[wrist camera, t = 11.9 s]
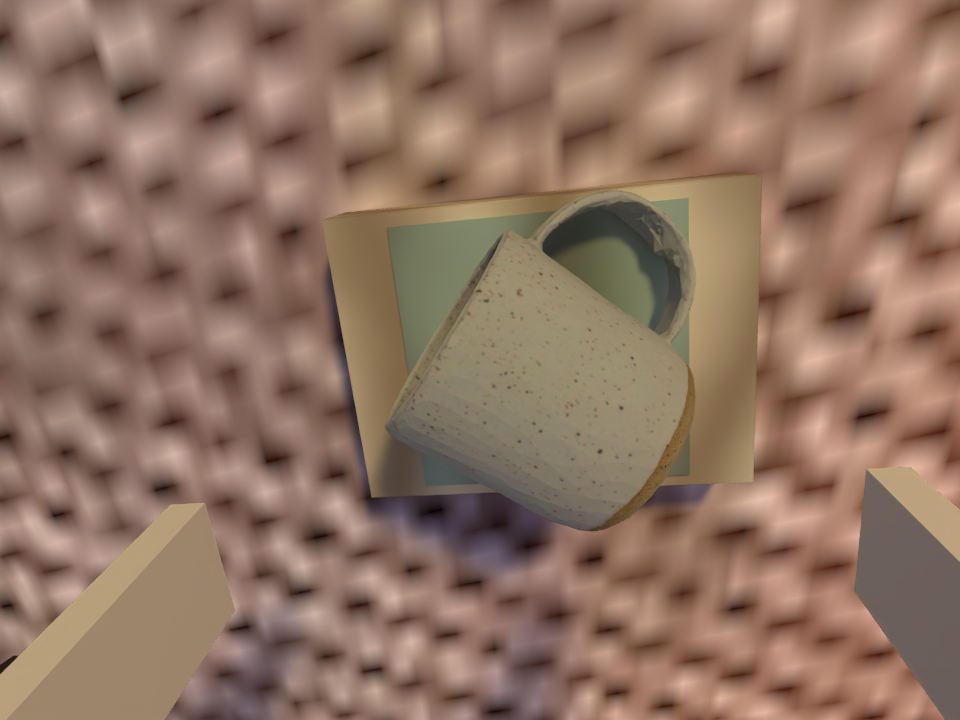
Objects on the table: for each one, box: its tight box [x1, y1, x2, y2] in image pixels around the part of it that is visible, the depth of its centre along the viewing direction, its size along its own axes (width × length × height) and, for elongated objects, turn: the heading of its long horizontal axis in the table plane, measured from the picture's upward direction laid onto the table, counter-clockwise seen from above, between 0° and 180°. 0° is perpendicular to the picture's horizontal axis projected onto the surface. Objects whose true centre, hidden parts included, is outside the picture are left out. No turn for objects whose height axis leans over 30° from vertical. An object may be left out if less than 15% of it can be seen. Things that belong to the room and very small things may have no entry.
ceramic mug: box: [385, 190, 696, 531], centre depth 21 cm, size 11×8×8 cm
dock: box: [322, 172, 762, 498], centre depth 26 cm, size 16×12×3 cm
